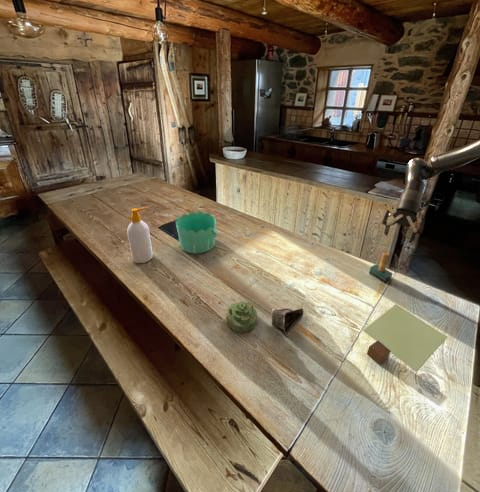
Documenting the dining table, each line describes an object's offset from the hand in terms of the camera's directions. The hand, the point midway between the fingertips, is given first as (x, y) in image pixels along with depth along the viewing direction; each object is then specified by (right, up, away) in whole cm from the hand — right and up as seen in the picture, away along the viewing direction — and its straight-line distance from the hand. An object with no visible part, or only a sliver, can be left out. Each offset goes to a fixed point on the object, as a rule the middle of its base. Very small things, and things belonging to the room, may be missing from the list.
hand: (398, 238), depth 106 cm
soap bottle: (-106, -10, +12) cm, 107 cm away
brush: (-6, -16, +3) cm, 17 cm away
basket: (-83, -5, +23) cm, 86 cm away
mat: (-12, -28, -23) cm, 38 cm away
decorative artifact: (-62, -25, -18) cm, 70 cm away
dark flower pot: (-48, -25, -18) cm, 57 cm away
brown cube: (-24, -31, -30) cm, 49 cm away
